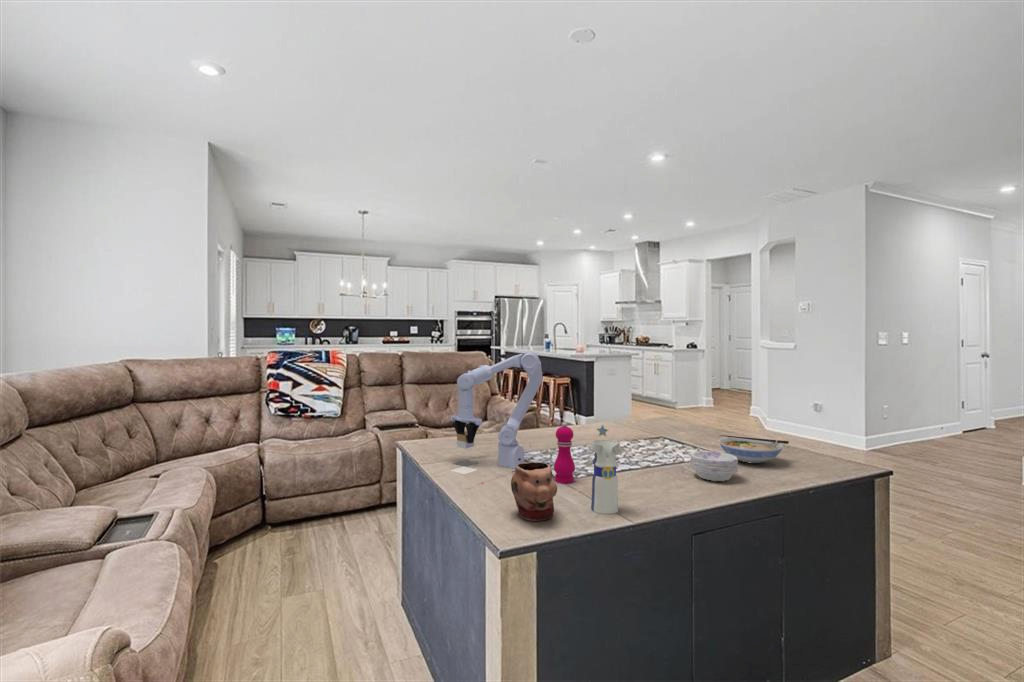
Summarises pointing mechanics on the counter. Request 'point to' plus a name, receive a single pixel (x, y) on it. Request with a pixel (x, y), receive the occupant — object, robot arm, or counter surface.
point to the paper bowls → (714, 465)
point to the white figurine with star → (605, 475)
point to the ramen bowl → (751, 448)
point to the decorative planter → (534, 490)
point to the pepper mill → (564, 455)
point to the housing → (463, 440)
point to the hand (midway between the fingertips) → (466, 441)
